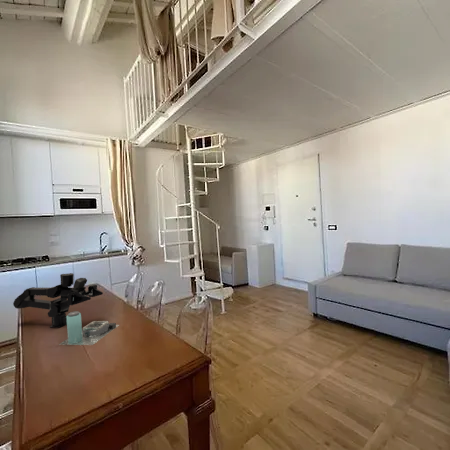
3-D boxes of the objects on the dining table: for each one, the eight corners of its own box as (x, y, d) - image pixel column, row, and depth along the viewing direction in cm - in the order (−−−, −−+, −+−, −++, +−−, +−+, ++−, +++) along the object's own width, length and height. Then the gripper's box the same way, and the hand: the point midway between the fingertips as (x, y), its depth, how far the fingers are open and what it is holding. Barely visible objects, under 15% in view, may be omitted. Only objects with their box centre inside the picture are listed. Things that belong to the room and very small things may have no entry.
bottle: (65, 343, 119) (63, 315, 118) (74, 337, 124) (72, 310, 124) (76, 343, 118) (74, 315, 118) (85, 337, 123) (83, 310, 123)
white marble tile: (58, 346, 118) (57, 336, 118) (90, 326, 140) (89, 318, 140) (92, 347, 115) (92, 336, 115) (119, 326, 137) (119, 317, 137)
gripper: (57, 282, 133) (83, 285, 130) (84, 274, 151) (108, 276, 148) (57, 304, 134) (83, 307, 130) (84, 293, 152) (108, 296, 148)
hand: (96, 295), depth 139 cm, fingers open, 9 cm apart
